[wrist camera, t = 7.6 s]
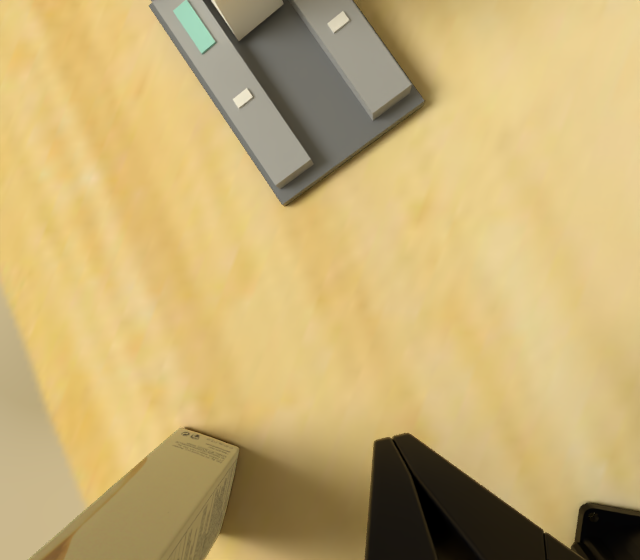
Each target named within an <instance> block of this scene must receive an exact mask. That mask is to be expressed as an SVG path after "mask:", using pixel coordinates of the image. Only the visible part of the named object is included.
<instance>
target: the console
mask: <svg viewBox="0 0 640 560" xmlns="http://www.w3.org/2000/svg"><path fill="white" fill-rule="evenodd" d="M151 1H152V3H151V4H150V5H149V7H150V9H151V10H152V12H153V13H154V15H155V16H156V18H157V19H158V20H159V22H160V23H161V25H162V26H163V28H164V29H165V31H166V32H167V34H168V35H169V37H170V38H171V40H172V41H173V43H174V44H175V46H176V47H177V49H178V50H179V52H180V53H181V55H182V56H183V58H184V59H185V61H186V62H187V64H188V65H189V67H190V68H191V70H192V71H193V73H194V74H195V76H196V77H197V79H198V80H199V82H200V83H201V85H202V86H203V88H204V89H205V90H206V92H207V93H208V95H209V96H210V98H211V99H212V101H213V102H214V104H215V105H216V107H217V108H218V110H219V111H220V113H221V114H222V116H223V117H224V119H225V120H226V122H227V123H228V125H229V126H230V128H231V129H232V131H233V132H234V134H235V135H236V137H237V138H238V140H239V141H240V143H241V144H242V146H243V147H244V149H245V150H246V152H247V153H248V155H249V156H250V157H251V159H252V160H253V162H254V163H255V165H256V166H257V168H258V169H259V171H260V172H261V174H262V175H263V177H264V178H265V180H266V181H267V183H268V184H269V186H270V187H271V189H272V190H273V192H274V193H275V195H276V196H277V198H278V199H279V201H280V202H281V204H282V205H283V206H286V205H287V204H289V203H290V202H291V201H293V200H294V199H295V198H297V197H298V196H300V195H301V194H302V193H304V192H305V191H306V190H308V189H309V188H311V187H312V186H313V185H315V184H316V183H317V182H319V181H320V180H322V179H323V178H324V177H326V176H327V175H328V174H330V173H331V172H333V171H334V170H335V169H337V168H338V167H339V166H341V165H342V164H344V163H345V162H346V161H348V160H349V159H350V158H352V157H353V156H355V155H356V154H357V153H359V152H360V151H361V150H363V149H364V148H366V147H367V146H368V145H370V144H371V143H372V142H374V141H375V140H376V139H378V138H379V137H381V136H382V135H383V134H385V133H386V132H387V131H389V130H390V129H392V128H393V127H394V126H396V125H397V124H398V123H400V122H401V121H403V120H404V119H405V118H407V117H408V116H409V115H411V114H412V113H414V112H415V111H416V110H418V109H419V108H420V107H422V106H423V104H424V99H423V98H422V96H421V95H420V94H419V92H418V91H417V89H416V88H415V87H414V85H413V84H412V82H411V81H410V80H409V78H408V77H407V75H406V74H405V73H404V71H403V70H402V68H401V67H400V65H399V64H398V63H397V61H396V60H395V58H394V57H393V56H392V54H391V53H390V51H389V50H388V49H387V47H386V46H385V44H384V43H383V42H382V40H381V39H380V37H379V36H378V35H377V33H376V32H375V30H374V29H373V27H372V26H371V25H370V23H369V22H368V20H367V19H366V18H365V16H364V15H363V13H362V12H361V11H360V9H359V8H358V6H357V5H356V4H355V2H354V1H353V0H282V1H283V3H284V4H283V5H282V6H281V7H280V8H278V9H277V10H276V11H275V12H273V13H272V14H271V15H270V16H269V17H267V18H266V19H265V20H264V21H263V22H261V23H260V24H259V25H258V26H257V27H255V28H254V29H253V30H252V31H251V32H249V33H248V34H247V35H246V36H244V37H243V38H242V39H241V40H240V41H238V39H237V38H236V36H235V35H234V34H233V32H232V31H231V29H230V28H229V26H228V25H227V23H226V22H225V20H224V19H223V17H222V16H221V15H220V13H219V12H218V10H217V9H216V7H215V6H214V4H213V3H212V1H211V0H151Z"/></svg>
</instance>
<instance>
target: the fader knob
mask: <svg viewBox="0 0 640 560" xmlns="http://www.w3.org/2000/svg"><path fill="white" fill-rule="evenodd" d="M211 1H212V3H213V4H214V6H215V7H216V9H217V10H218V12H219V13H220V15H221V16H222V17H223V19H224V20H225V22H226V23H227V25H228V26H229V28H230V29H231V31H232V32H233V34H234V35H235V36H236V38H237V39H238V41H240V40H241V39H242V38H243V37H244V36H246V35H247V34H248V33H249V32H251V31H252V30H253V29H254V28H255V27H257V26H258V25H259V24H260V23H261V22H263V21H264V20H265V19H266V18H267V17H269V16H270V15H271V14H272V13H273V12H275V11H276V10H277V9H278V8H280V7H281V6H282V5H283V4H284V3H283V1H282V0H211Z"/></svg>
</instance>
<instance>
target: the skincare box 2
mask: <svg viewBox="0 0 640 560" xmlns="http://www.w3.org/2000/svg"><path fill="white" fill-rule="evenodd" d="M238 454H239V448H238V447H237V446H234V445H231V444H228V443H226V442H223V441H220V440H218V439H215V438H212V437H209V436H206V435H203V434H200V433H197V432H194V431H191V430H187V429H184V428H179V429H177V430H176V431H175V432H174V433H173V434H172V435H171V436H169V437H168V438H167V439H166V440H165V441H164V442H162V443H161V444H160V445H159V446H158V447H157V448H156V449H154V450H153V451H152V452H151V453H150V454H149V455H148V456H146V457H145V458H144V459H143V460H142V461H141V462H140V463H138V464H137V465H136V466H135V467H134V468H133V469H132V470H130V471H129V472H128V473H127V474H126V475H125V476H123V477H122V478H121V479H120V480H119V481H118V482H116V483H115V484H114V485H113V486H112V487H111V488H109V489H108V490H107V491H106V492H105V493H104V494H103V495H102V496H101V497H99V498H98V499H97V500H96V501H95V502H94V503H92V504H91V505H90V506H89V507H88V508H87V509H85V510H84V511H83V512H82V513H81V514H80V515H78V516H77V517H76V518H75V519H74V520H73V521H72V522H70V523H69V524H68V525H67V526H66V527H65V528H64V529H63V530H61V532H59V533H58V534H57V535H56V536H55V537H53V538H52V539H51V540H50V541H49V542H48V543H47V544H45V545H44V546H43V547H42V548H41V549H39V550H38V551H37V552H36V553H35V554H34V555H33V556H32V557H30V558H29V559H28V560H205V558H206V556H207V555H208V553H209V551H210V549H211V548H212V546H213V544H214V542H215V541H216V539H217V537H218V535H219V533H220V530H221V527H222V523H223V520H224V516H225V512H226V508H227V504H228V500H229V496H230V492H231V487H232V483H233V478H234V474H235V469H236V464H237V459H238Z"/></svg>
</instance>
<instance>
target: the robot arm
mask: <svg viewBox="0 0 640 560" xmlns="http://www.w3.org/2000/svg"><path fill="white" fill-rule="evenodd" d="M590 513H594V515H593V516H592V517H588V516H589V514H590ZM365 560H640V512H636V511H630V510H625V509H619V508H613V507H608V506H602V505H597V504H591V503H586V504H584V505H582V506H581V507H580V509H579V515H578V522H577V529H576V536H575V542H574V543H573V544H572V546H571V549H569V548H568V547H567V546H565V545H564V544H562V543H561V542H560V541H558V540H557V539H555V538H554V537H553V536H551V535H550V534H549V533H544V531H543V529H541V528H540V527H539V526H537V525H536V524H534V523H533V522H532V521H530V520H529V519H527V518H526V517H525V516H523V515H522V514H521V513H519V512H518V511H516V510H515V509H514V508H512V507H511V506H509V505H508V504H507V503H505V502H504V501H503V500H501V499H500V498H498V497H497V496H496V495H494V494H493V493H491V492H490V491H489V490H487V489H486V488H485V487H483V486H482V485H480V484H479V483H478V482H476V481H475V480H473V479H472V478H471V477H469V476H468V475H467V474H465V473H464V472H462V471H461V470H460V469H458V468H457V467H455V466H454V465H453V464H451V463H450V462H449V461H447V460H446V459H444V458H443V457H442V456H440V455H439V454H437V453H436V452H435V451H433V450H432V449H431V448H429V447H428V446H426V445H425V444H424V443H422V442H421V441H419V440H418V439H417V438H415V437H414V436H413V435H411V434H409V433H404V434H399V435H395V436H393V437H392V439H391V438H390V437H386V438H382V439H378V440H375V441H374V447H373V460H372V473H371V486H370V498H369V511H368V524H367V537H366V549H365Z"/></svg>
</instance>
